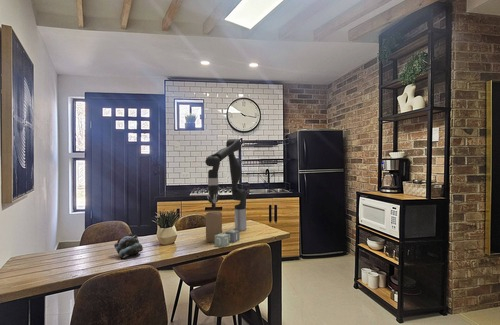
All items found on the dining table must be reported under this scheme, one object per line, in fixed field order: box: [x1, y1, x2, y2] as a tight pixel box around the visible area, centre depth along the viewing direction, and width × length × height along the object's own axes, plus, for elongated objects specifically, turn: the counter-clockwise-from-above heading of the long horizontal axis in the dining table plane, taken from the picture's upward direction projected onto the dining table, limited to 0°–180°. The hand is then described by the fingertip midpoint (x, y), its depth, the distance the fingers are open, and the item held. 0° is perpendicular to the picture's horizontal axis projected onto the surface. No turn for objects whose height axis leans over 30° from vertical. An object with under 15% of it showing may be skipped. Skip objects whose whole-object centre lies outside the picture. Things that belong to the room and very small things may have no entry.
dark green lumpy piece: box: [113, 234, 144, 259], centre depth 179 cm, size 15×12×14 cm
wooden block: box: [205, 211, 223, 243], centre depth 209 cm, size 10×10×20 cm
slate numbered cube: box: [225, 229, 240, 244], centre depth 208 cm, size 7×7×7 cm
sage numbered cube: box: [214, 232, 230, 248], centre depth 198 cm, size 7×7×7 cm
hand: (213, 208), depth 209 cm, fingers closed
